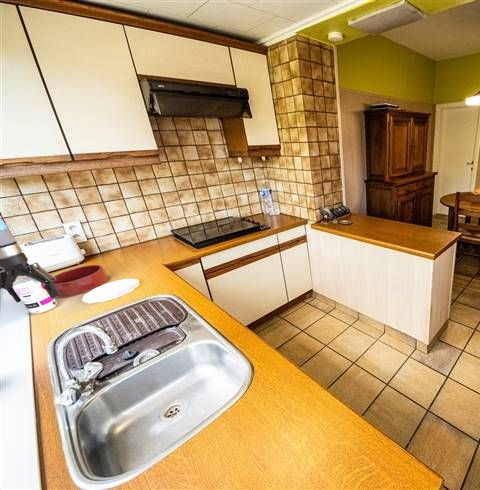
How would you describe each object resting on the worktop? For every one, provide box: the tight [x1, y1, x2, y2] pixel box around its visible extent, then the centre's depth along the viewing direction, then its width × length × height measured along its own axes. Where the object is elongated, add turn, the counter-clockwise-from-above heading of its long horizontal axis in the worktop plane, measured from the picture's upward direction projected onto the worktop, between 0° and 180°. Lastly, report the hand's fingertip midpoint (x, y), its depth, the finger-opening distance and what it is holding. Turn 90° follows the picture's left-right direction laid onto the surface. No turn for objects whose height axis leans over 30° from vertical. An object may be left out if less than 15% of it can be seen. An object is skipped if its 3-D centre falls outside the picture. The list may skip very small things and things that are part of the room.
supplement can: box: [13, 276, 58, 314], centre depth 116 cm, size 8×8×15 cm
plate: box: [81, 278, 140, 304], centre depth 128 cm, size 21×21×2 cm
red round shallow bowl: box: [51, 264, 109, 298], centre depth 135 cm, size 20×20×7 cm
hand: (38, 298), depth 117 cm, fingers open, 13 cm apart
